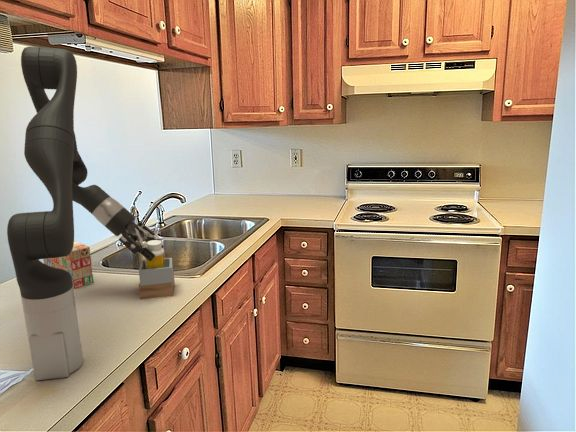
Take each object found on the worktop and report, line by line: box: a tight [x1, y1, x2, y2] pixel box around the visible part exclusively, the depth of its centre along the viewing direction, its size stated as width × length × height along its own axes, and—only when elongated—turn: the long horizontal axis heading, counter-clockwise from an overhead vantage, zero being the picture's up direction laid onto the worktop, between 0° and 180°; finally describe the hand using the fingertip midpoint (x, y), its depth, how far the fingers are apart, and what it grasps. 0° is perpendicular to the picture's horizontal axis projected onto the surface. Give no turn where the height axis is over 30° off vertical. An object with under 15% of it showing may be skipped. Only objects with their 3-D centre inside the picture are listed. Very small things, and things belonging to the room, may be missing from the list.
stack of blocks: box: [42, 240, 94, 290], centre depth 139 cm, size 21×6×12 cm, turn 50°
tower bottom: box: [138, 271, 175, 300], centre depth 128 cm, size 9×9×4 cm
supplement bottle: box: [144, 239, 166, 269], centre depth 126 cm, size 5×5×10 cm
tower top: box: [138, 257, 174, 286], centre depth 127 cm, size 9×9×4 cm
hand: (157, 253), depth 126 cm, fingers open, 8 cm apart
